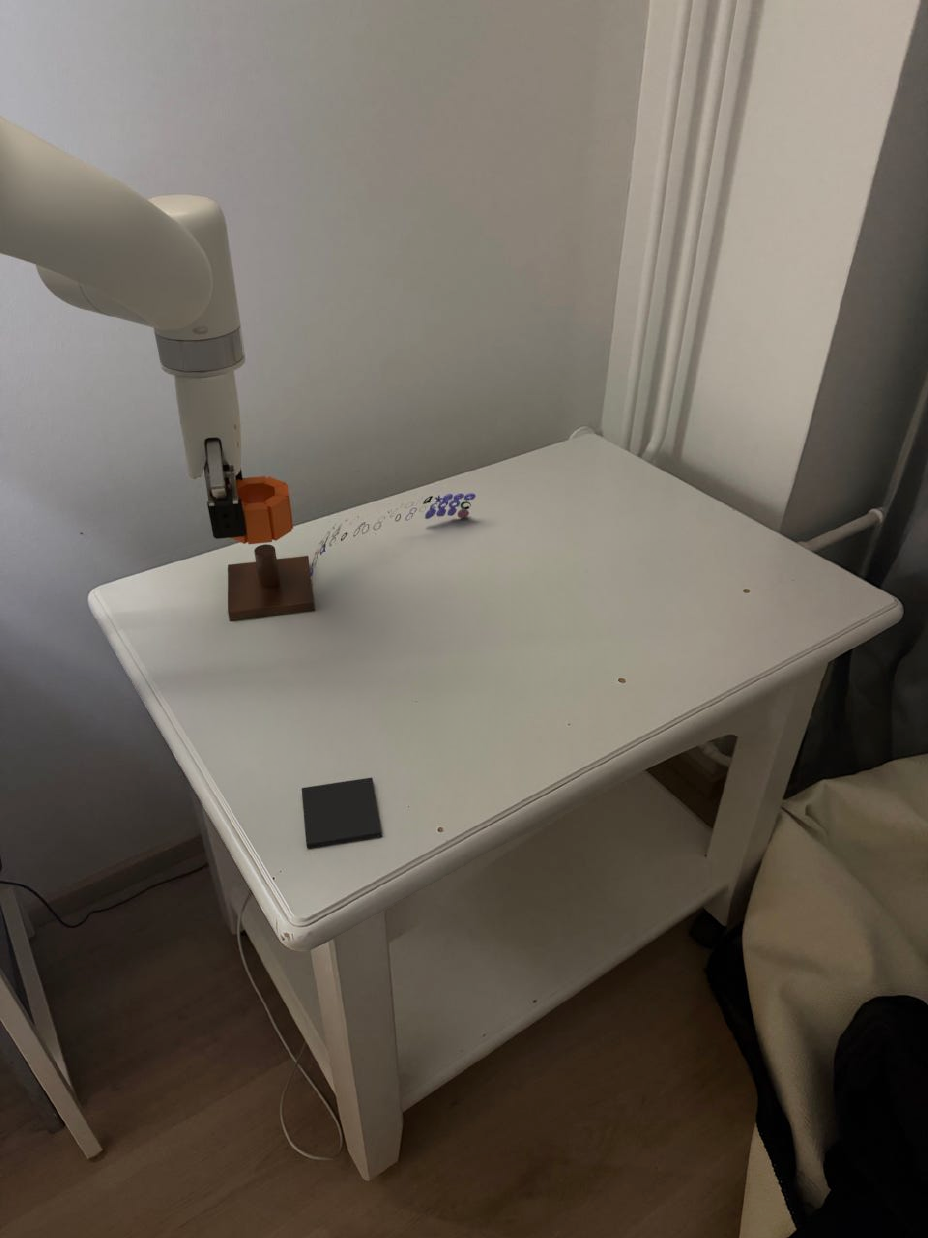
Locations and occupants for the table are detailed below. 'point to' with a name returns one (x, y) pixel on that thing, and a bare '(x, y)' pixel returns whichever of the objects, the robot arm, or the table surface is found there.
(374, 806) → the mat
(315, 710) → the table surface
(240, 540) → the orange octagonal tube
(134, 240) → the robot arm
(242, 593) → the rack
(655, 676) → the table surface
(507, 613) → the table surface
